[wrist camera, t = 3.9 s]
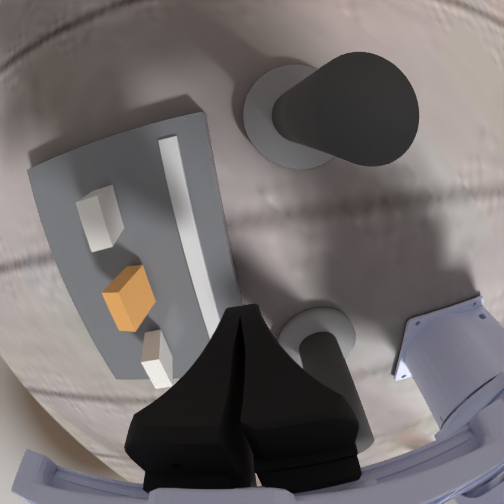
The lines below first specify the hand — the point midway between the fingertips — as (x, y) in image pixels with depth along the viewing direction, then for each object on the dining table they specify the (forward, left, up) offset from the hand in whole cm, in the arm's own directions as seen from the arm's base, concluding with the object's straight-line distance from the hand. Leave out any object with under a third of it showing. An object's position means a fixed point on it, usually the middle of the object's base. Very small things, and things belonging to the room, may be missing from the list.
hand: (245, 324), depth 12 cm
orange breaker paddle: (+6, 0, -5) cm, 8 cm away
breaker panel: (+7, 0, -7) cm, 10 cm away
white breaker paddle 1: (+7, -5, -5) cm, 10 cm away
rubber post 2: (-4, +8, -7) cm, 12 cm away
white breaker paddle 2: (+7, +5, -5) cm, 10 cm away
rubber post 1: (-4, -8, -7) cm, 11 cm away
